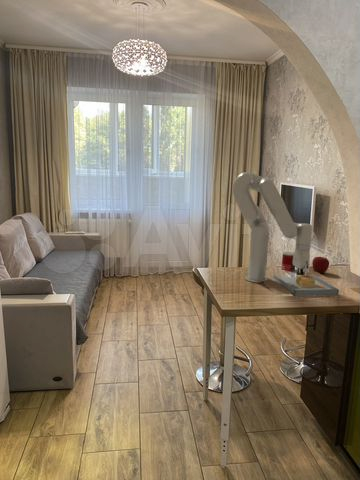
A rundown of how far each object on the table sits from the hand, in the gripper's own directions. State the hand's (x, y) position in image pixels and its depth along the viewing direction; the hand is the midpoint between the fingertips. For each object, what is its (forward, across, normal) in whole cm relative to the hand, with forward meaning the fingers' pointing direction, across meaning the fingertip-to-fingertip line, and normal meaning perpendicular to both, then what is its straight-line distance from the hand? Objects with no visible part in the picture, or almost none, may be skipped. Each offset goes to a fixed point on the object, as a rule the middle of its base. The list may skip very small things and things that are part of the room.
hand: (299, 279), depth 197 cm
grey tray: (+2, +6, 0) cm, 6 cm away
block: (+1, +6, 0) cm, 6 cm away
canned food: (+2, -24, +5) cm, 25 cm away
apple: (+3, -19, +23) cm, 30 cm away
